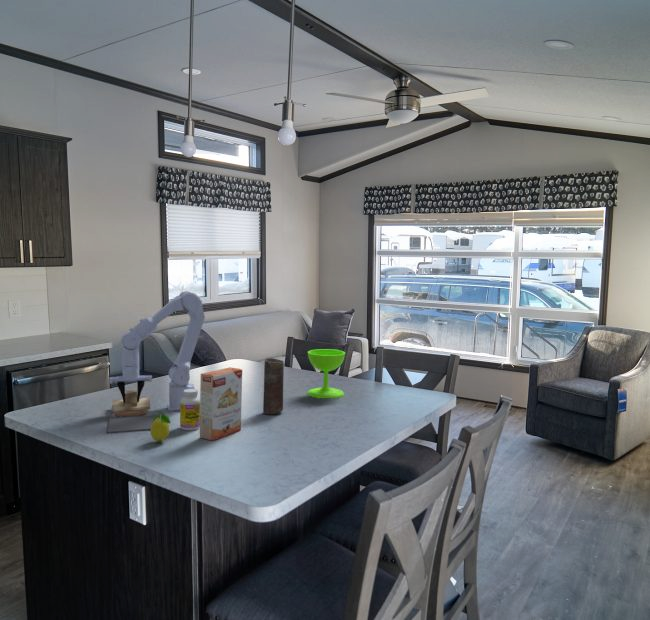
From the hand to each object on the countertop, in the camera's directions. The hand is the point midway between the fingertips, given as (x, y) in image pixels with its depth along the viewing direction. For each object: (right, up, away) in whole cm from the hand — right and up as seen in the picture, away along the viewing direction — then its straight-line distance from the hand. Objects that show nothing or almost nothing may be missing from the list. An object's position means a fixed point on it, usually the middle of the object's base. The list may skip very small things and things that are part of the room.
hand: (131, 401), depth 200 cm
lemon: (+20, -8, -31) cm, 37 cm away
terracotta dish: (0, -4, 0) cm, 4 cm away
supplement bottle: (+26, -6, -16) cm, 31 cm away
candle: (+51, -5, +4) cm, 52 cm away
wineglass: (+71, -3, +34) cm, 79 cm away
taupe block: (0, -1, 0) cm, 1 cm away
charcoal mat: (+6, -5, -13) cm, 16 cm away
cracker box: (+37, -7, -22) cm, 43 cm away
